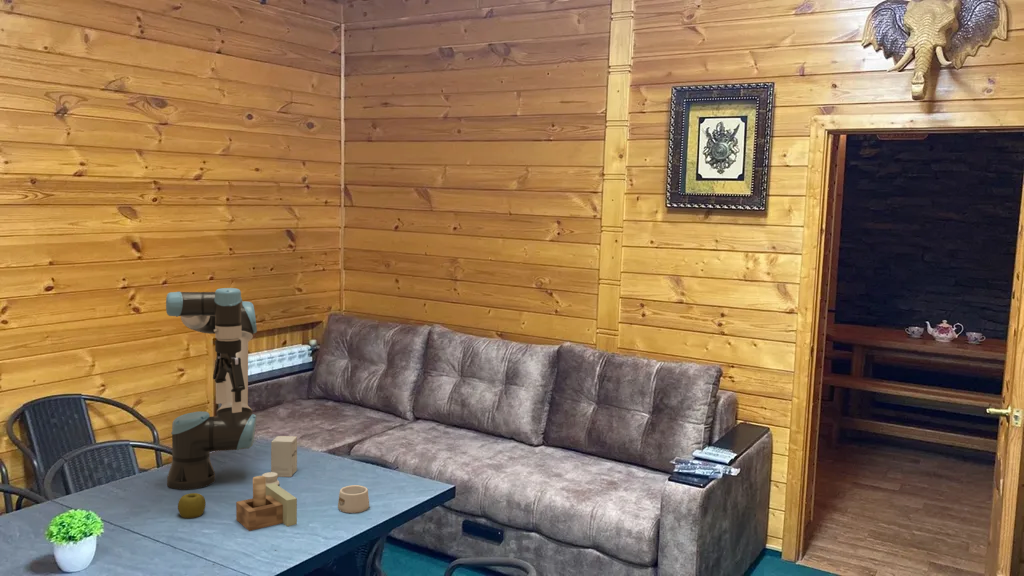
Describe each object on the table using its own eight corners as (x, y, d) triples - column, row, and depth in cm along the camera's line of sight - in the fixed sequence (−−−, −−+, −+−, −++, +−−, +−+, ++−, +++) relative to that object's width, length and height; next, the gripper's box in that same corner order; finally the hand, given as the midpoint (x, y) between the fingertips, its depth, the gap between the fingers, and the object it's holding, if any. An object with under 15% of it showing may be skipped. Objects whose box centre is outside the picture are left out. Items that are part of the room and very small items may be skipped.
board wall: (180, 532, 227) (180, 502, 226) (274, 511, 245) (274, 483, 244) (199, 552, 215) (198, 519, 214) (296, 528, 233) (296, 498, 232)
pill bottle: (273, 509, 247) (273, 478, 246) (256, 507, 248) (256, 476, 247) (282, 502, 252) (282, 472, 252) (266, 501, 254) (266, 470, 253)
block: (236, 519, 234) (236, 501, 234) (269, 512, 241) (269, 494, 240) (249, 530, 227) (249, 512, 226) (282, 523, 233) (282, 504, 232)
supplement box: (291, 477, 277) (291, 441, 275) (270, 476, 277) (270, 441, 276) (297, 470, 284) (297, 435, 283) (276, 469, 284) (276, 435, 283)
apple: (189, 525, 233) (188, 501, 232) (172, 519, 237) (171, 496, 236) (211, 517, 239) (210, 494, 238) (194, 511, 243) (193, 489, 243)
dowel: (251, 517, 234) (250, 477, 233) (262, 514, 236) (262, 475, 235) (255, 520, 231) (255, 480, 230) (267, 518, 233) (267, 478, 233)
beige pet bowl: (375, 509, 250) (375, 490, 249) (348, 516, 243) (348, 497, 242) (354, 498, 258) (354, 480, 258) (328, 505, 252) (328, 486, 251)
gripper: (202, 334, 249) (202, 401, 251) (230, 346, 230) (231, 417, 232) (225, 332, 254) (226, 398, 256) (256, 343, 235) (256, 414, 237)
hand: (228, 407), depth 244 cm, fingers open, 13 cm apart
